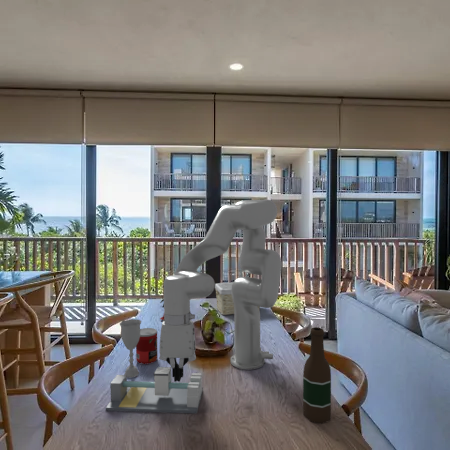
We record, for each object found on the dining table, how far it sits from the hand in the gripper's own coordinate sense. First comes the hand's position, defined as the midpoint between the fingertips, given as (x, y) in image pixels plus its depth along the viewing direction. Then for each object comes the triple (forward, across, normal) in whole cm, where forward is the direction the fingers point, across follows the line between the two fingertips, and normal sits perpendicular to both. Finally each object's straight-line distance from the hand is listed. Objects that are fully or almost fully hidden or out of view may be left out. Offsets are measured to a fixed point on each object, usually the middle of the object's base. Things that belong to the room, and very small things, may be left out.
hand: (178, 379), depth 98 cm
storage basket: (+7, -16, -90) cm, 91 cm away
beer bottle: (+7, -40, +5) cm, 40 cm away
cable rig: (+6, +6, 0) cm, 9 cm away
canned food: (+7, +17, -26) cm, 32 cm away
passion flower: (+7, +25, -96) cm, 100 cm away
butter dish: (+7, +17, -74) cm, 76 cm away
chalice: (+7, +19, -15) cm, 26 cm away
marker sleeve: (+4, +5, 0) cm, 6 cm away
